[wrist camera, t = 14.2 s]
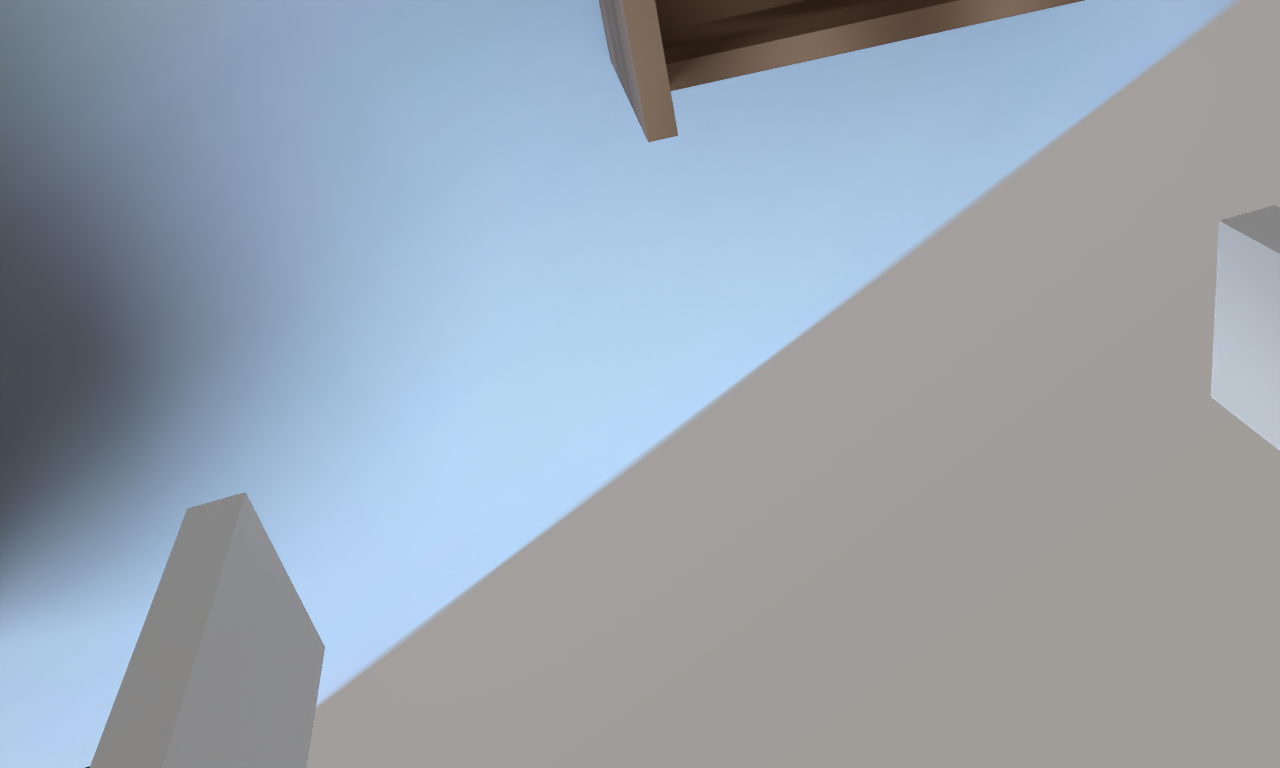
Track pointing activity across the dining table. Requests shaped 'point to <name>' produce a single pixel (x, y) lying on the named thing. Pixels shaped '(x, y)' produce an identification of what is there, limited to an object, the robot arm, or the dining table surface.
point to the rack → (762, 38)
